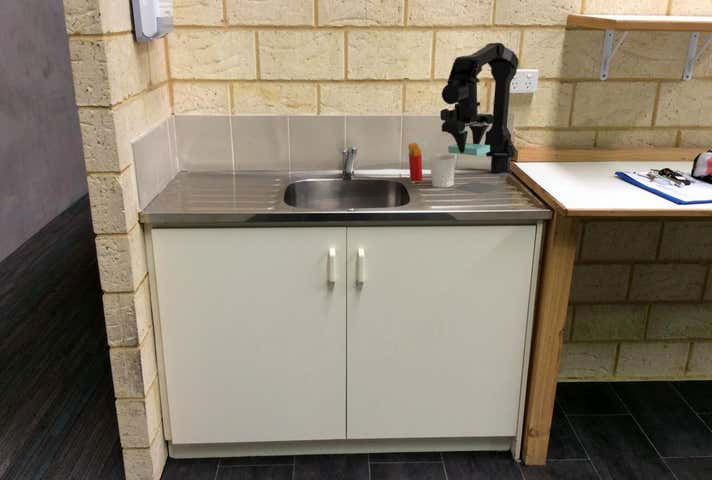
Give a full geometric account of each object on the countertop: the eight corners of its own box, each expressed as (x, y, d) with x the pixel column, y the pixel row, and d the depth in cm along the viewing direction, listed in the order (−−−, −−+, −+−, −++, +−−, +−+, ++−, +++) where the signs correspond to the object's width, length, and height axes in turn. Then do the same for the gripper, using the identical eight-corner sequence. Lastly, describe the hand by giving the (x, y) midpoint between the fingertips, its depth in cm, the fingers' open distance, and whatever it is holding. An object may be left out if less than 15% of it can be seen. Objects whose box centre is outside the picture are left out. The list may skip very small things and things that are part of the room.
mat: (473, 184, 198) (473, 181, 198) (503, 189, 189) (503, 186, 189) (453, 191, 192) (453, 188, 192) (483, 196, 183) (483, 193, 183)
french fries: (422, 183, 205) (420, 145, 200) (410, 184, 205) (408, 146, 201) (422, 177, 213) (420, 140, 209) (410, 178, 214) (408, 141, 209)
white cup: (454, 190, 193) (453, 159, 190) (430, 191, 195) (428, 160, 192) (456, 184, 200) (455, 154, 197) (432, 184, 202) (430, 155, 199)
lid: (461, 148, 194) (461, 142, 194) (489, 151, 186) (489, 145, 186) (448, 152, 190) (448, 146, 190) (476, 155, 182) (476, 149, 182)
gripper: (465, 95, 195) (466, 143, 200) (426, 103, 183) (429, 154, 188) (494, 95, 187) (495, 146, 192) (455, 104, 175) (457, 157, 180)
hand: (468, 150), depth 188 cm, fingers closed on lid, 6 cm apart
